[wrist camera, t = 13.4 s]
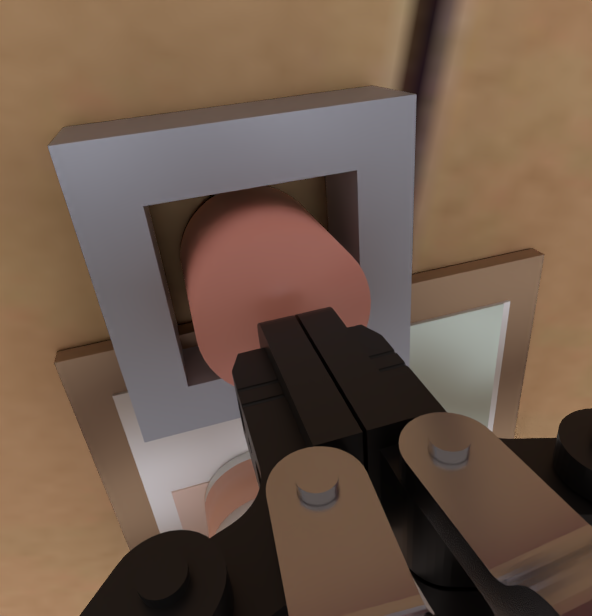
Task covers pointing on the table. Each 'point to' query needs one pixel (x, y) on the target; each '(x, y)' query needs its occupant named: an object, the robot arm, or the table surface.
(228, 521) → the marker
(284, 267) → the button
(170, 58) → the table surface
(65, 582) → the table surface
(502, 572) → the robot arm
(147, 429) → the button housing
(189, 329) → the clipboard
